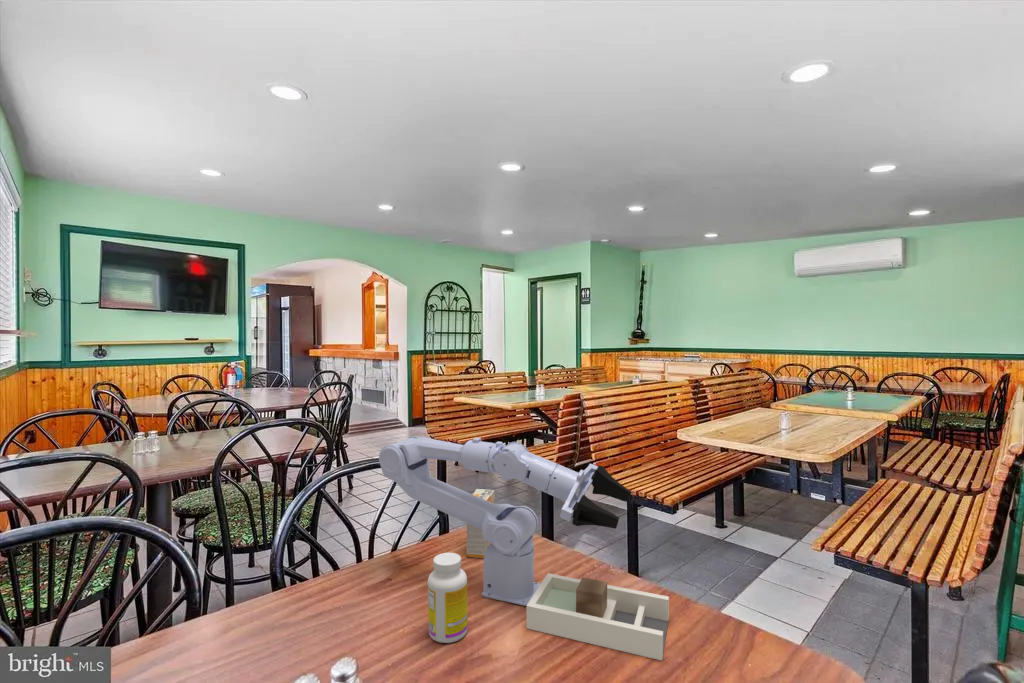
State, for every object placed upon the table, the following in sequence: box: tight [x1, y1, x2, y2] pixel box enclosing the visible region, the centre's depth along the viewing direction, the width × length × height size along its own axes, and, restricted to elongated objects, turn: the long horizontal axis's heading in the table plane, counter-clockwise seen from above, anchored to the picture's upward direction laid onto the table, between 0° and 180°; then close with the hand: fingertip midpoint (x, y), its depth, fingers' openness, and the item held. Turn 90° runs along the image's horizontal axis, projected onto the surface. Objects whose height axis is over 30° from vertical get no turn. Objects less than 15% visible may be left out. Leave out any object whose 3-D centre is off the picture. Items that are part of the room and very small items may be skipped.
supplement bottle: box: [427, 552, 469, 644], centre depth 86 cm, size 7×7×13 cm
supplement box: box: [466, 488, 495, 560], centre depth 117 cm, size 8×5×13 cm, turn 168°
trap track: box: [526, 573, 670, 661], centre depth 89 cm, size 22×12×4 cm, turn 68°
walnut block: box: [576, 576, 608, 618], centre depth 89 cm, size 4×4×4 cm
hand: (624, 509), depth 90 cm, fingers open, 7 cm apart
